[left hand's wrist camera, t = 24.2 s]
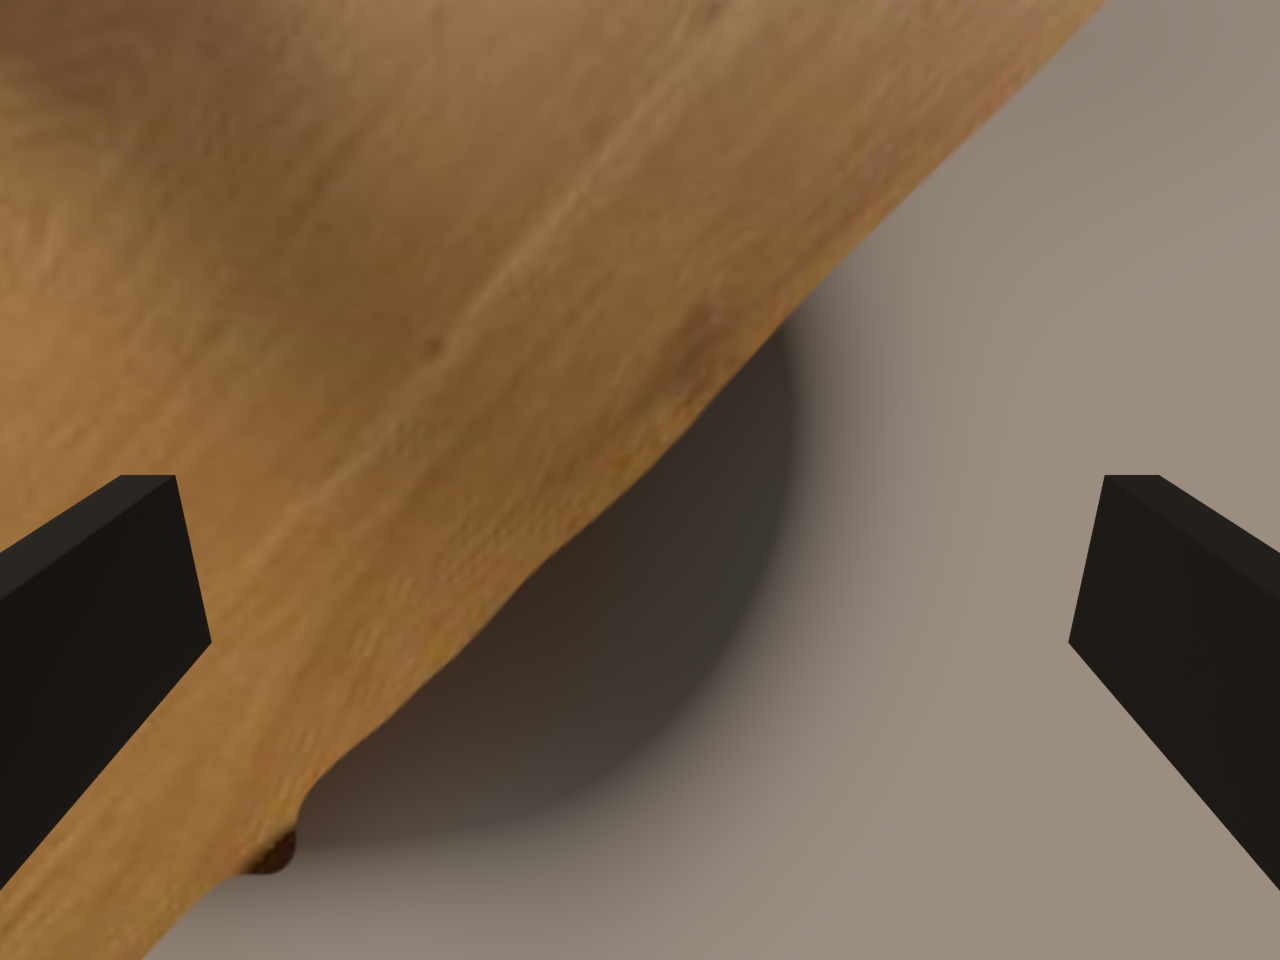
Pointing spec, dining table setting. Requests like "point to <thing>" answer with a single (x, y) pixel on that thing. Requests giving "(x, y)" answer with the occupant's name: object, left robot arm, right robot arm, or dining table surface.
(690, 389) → the dining table surface
